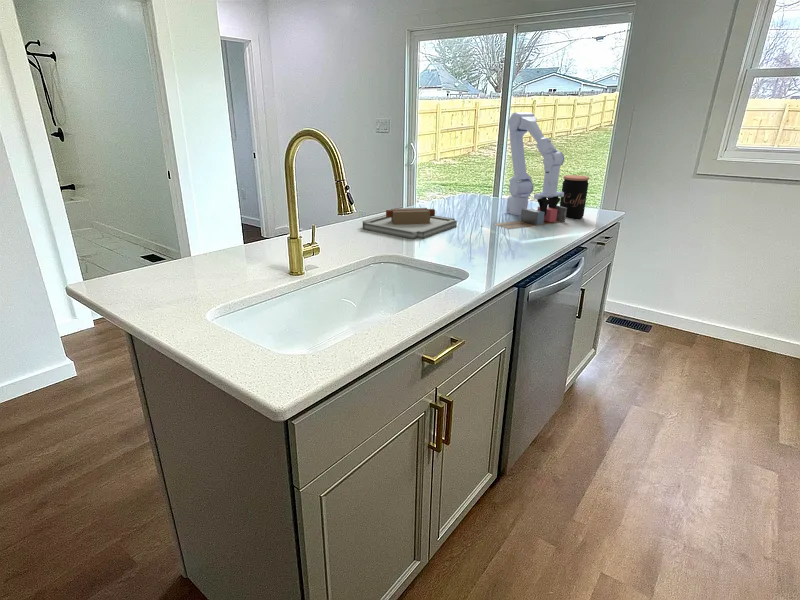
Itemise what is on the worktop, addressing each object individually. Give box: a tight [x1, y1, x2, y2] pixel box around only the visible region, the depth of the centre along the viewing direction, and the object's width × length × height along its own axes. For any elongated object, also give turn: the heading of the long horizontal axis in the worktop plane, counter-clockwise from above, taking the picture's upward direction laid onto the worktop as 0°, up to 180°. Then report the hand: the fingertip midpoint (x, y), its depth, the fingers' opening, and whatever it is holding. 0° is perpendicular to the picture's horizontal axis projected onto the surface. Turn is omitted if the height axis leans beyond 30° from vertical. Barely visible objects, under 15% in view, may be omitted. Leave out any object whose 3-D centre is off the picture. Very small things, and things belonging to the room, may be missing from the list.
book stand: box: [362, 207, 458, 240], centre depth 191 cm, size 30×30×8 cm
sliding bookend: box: [520, 208, 538, 225], centre depth 194 cm, size 9×1×5 cm, turn 26°
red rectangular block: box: [537, 206, 558, 222], centre depth 198 cm, size 8×4×5 cm, turn 26°
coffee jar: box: [559, 174, 590, 221], centre depth 207 cm, size 11×11×18 cm
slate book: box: [527, 208, 545, 226], centre depth 195 cm, size 8×4×5 cm, turn 26°
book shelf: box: [494, 205, 567, 230], centre depth 194 cm, size 10×30×7 cm, turn 116°
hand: (546, 214), depth 198 cm, fingers closed on red rectangular block, 3 cm apart
